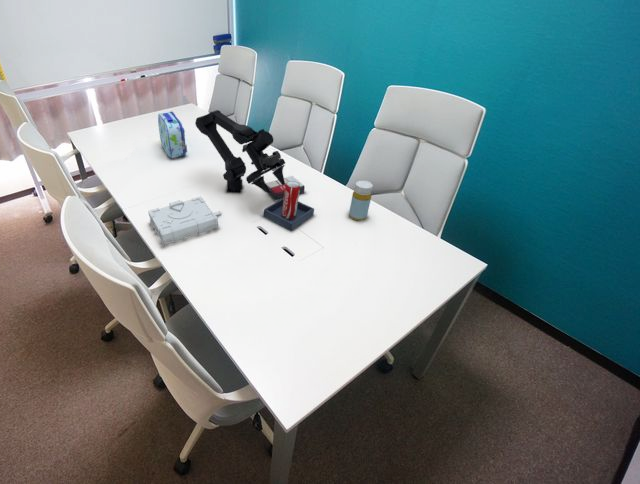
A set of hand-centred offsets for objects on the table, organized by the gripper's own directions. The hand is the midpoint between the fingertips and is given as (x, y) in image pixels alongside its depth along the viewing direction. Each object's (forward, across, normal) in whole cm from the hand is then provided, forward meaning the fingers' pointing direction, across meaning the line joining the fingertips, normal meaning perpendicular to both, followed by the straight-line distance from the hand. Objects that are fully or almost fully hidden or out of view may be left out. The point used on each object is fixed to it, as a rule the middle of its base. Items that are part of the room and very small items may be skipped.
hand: (276, 188), depth 140 cm
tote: (+12, 0, +2) cm, 12 cm away
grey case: (-5, -32, +20) cm, 38 cm away
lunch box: (-50, +6, +65) cm, 82 cm away
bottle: (+27, +19, -12) cm, 35 cm away
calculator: (+2, +14, +12) cm, 19 cm away
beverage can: (+12, 0, +2) cm, 13 cm away
